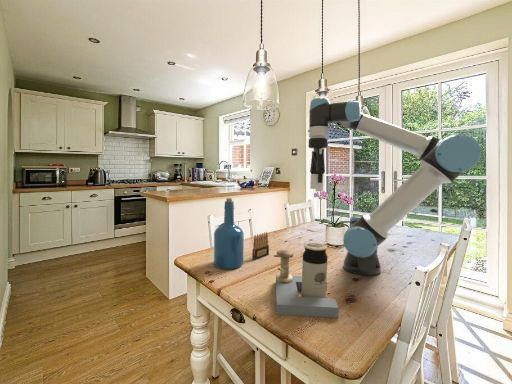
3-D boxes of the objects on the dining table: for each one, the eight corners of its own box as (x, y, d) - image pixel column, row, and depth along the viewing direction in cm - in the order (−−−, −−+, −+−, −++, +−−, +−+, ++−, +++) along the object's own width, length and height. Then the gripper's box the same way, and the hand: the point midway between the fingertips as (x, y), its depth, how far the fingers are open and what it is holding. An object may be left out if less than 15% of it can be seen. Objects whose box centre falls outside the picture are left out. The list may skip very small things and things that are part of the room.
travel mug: (299, 292, 90) (300, 242, 89) (321, 292, 91) (323, 242, 89) (304, 304, 82) (306, 249, 81) (329, 304, 83) (331, 249, 81)
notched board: (323, 284, 97) (323, 276, 97) (338, 317, 75) (338, 307, 75) (275, 282, 98) (275, 274, 98) (276, 314, 76) (276, 304, 76)
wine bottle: (248, 267, 113) (249, 199, 110) (220, 272, 106) (221, 200, 104) (234, 257, 124) (235, 196, 122) (208, 262, 118) (209, 197, 115)
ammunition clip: (266, 254, 131) (266, 231, 130) (268, 255, 130) (269, 231, 129) (252, 259, 123) (252, 234, 122) (254, 260, 122) (255, 235, 121)
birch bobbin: (291, 276, 96) (292, 250, 96) (293, 283, 90) (294, 255, 90) (275, 275, 97) (276, 249, 96) (276, 282, 91) (276, 254, 90)
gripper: (304, 141, 118) (303, 187, 120) (313, 133, 93) (311, 192, 95) (321, 141, 117) (319, 188, 119) (334, 133, 93) (332, 192, 94)
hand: (316, 190), depth 107 cm, fingers open, 13 cm apart
